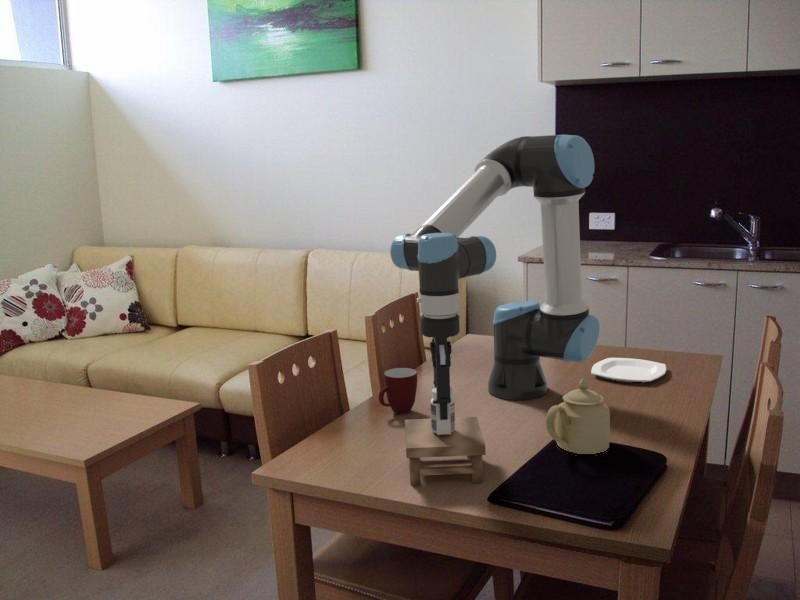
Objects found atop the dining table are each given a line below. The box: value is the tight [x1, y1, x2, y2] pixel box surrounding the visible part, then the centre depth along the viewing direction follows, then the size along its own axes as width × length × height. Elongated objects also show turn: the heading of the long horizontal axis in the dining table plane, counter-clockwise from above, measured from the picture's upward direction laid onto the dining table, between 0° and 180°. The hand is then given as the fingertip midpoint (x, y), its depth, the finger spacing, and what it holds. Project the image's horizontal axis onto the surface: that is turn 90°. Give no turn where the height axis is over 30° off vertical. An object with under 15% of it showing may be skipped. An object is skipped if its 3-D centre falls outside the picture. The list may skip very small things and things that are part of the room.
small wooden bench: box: [404, 416, 487, 487], centre depth 153 cm, size 15×15×8 cm
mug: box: [378, 367, 418, 416], centre depth 185 cm, size 10×8×10 cm
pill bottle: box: [430, 387, 456, 433], centre depth 151 cm, size 5×5×8 cm
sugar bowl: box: [545, 378, 611, 454], centre depth 159 cm, size 15×11×15 cm
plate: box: [590, 357, 667, 384], centre depth 208 cm, size 19×19×2 cm
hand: (443, 428), depth 152 cm, fingers closed on pill bottle, 5 cm apart
